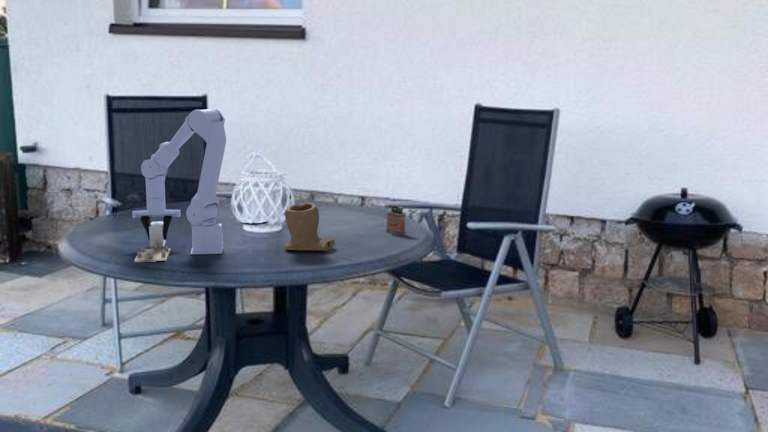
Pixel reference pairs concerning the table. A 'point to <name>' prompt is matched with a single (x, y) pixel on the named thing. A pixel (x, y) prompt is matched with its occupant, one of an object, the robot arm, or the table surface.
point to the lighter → (396, 220)
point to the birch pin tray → (152, 254)
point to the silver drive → (156, 234)
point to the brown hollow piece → (305, 229)
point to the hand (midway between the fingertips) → (157, 239)
